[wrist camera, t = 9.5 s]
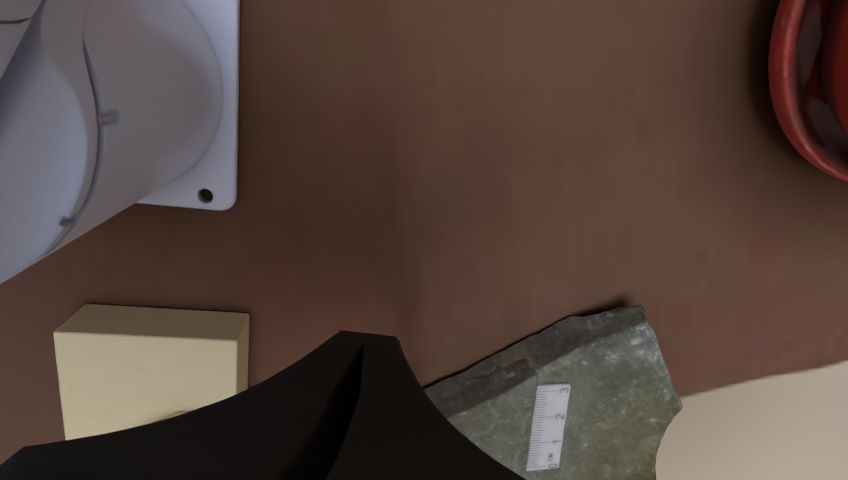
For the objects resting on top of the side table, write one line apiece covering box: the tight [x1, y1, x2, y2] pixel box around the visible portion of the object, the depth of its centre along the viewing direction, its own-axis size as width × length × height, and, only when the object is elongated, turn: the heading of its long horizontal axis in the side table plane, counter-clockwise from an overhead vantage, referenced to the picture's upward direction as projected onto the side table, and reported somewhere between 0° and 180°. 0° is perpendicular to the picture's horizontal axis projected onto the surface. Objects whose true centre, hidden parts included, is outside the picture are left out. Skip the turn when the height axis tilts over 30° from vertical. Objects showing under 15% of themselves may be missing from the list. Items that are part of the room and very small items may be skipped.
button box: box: [53, 304, 249, 440], centre depth 19 cm, size 7×8×4 cm
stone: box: [424, 305, 683, 480], centre depth 21 cm, size 13×10×2 cm
